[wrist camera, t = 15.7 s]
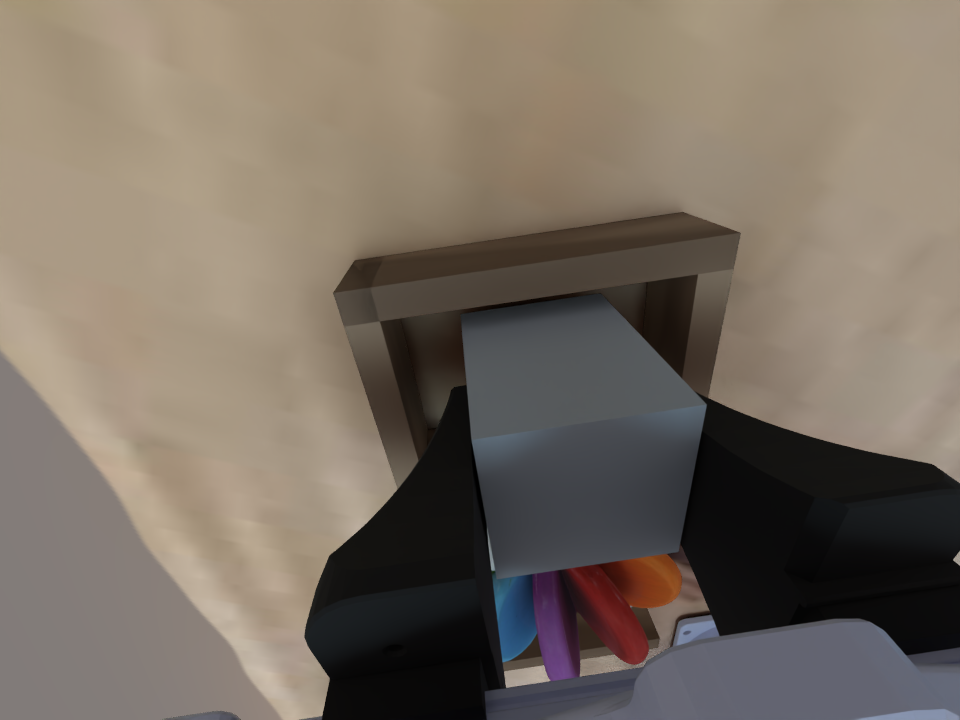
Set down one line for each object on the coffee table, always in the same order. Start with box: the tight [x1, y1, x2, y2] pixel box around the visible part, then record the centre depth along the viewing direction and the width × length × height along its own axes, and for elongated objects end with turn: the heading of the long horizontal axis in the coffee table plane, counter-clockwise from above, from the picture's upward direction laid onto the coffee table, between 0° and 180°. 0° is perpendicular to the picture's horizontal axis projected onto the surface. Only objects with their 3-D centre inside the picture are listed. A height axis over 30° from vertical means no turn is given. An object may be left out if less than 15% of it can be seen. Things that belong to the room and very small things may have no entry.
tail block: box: [461, 293, 707, 579], centre depth 11 cm, size 4×4×6 cm
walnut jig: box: [333, 212, 741, 671], centre depth 18 cm, size 22×11×3 cm, turn 7°
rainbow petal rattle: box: [487, 528, 682, 681], centre depth 17 cm, size 8×10×7 cm
